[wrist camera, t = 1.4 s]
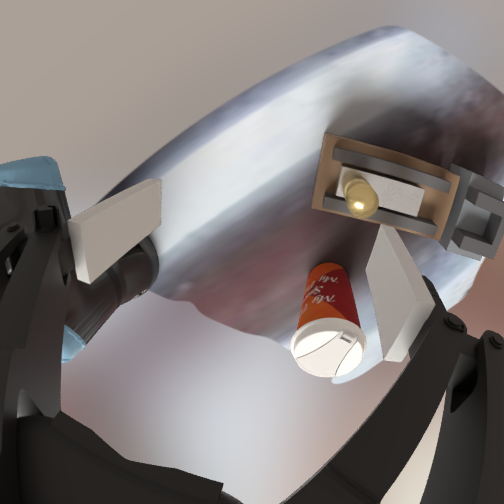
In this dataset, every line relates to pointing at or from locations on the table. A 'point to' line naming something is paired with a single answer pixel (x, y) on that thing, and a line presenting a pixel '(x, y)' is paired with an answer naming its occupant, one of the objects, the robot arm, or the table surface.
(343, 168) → the white and gold piece
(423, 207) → the door
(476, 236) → the bracket
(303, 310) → the coffee cup
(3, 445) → the robot arm
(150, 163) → the table surface
